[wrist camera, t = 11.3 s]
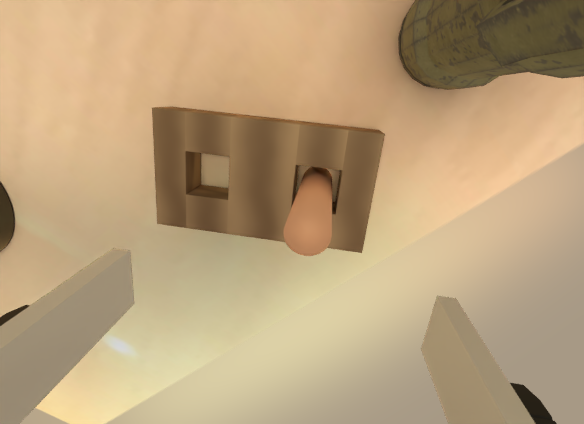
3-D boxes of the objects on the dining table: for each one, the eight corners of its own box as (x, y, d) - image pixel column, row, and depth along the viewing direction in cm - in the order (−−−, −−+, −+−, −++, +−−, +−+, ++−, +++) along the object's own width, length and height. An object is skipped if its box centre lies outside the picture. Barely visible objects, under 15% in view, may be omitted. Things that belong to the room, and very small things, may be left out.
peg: (301, 192, 36) (281, 252, 22) (304, 164, 35) (285, 207, 21) (329, 196, 36) (328, 259, 22) (334, 167, 35) (335, 214, 21)
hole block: (174, 211, 39) (157, 223, 35) (171, 106, 35) (152, 107, 31) (358, 237, 37) (361, 252, 33) (378, 130, 33) (384, 134, 29)
